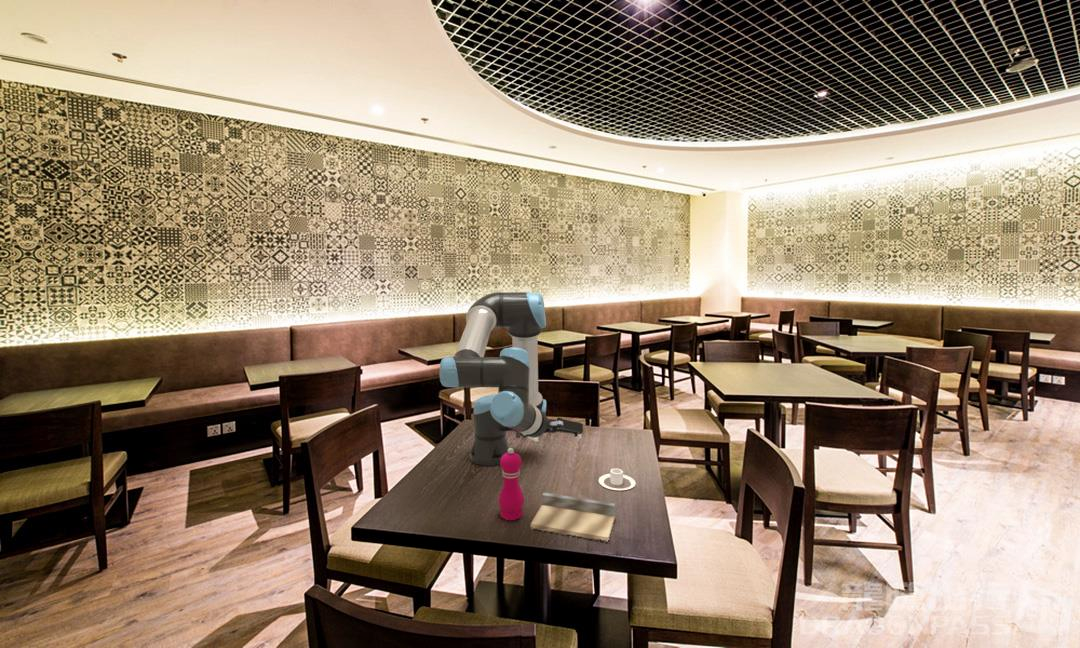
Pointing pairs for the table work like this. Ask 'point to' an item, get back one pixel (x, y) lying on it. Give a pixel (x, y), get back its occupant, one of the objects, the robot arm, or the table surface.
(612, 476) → the candle holder
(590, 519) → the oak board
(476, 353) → the robot arm
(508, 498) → the pepper mill
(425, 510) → the table surface
